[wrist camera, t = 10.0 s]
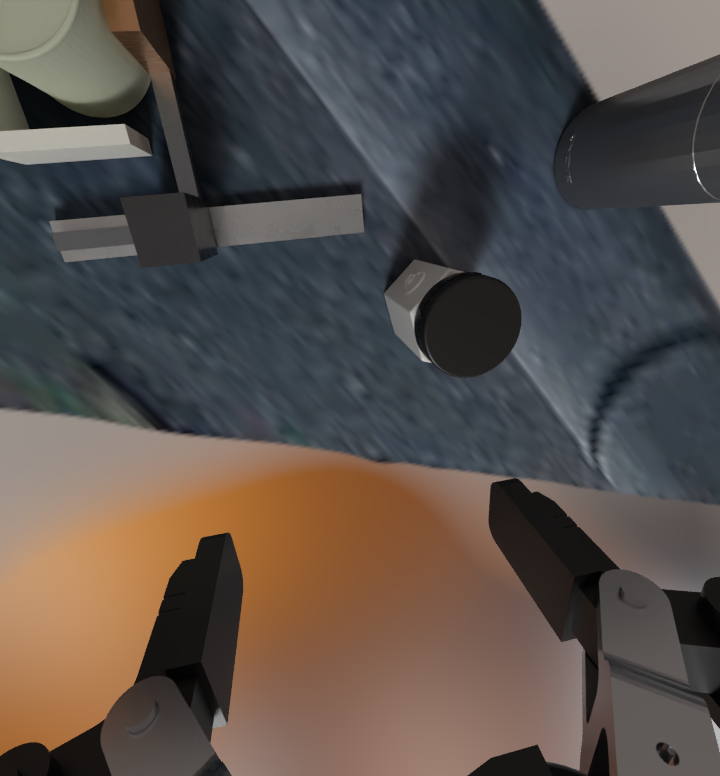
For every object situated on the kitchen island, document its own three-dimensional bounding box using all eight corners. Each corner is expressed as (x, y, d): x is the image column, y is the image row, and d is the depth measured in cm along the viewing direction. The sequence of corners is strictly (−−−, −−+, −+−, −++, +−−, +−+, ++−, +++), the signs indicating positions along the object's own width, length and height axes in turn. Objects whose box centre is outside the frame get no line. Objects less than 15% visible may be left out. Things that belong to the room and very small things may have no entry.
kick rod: (159, -9, 27) (113, -94, 20) (218, 253, 34) (200, 261, 27) (-28, -5, 26) (-151, -96, 18) (75, 268, 33) (15, 280, 26)
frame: (87, -92, 26) (44, -160, 21) (152, 155, 31) (130, 144, 27) (-74, -93, 24) (-155, -166, 20) (25, 164, 30) (-21, 153, 26)
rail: (359, 194, 35) (361, 194, 34) (362, 232, 37) (364, 232, 36) (55, 221, 32) (49, 221, 31) (70, 261, 33) (64, 262, 32)
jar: (427, 239, 38) (484, 246, 27) (477, 294, 41) (545, 319, 30) (367, 308, 40) (397, 339, 29) (419, 355, 43) (464, 400, 32)
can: (25, 105, 29) (-131, 33, 18) (-2, -59, 26) (-214, -269, 15) (157, 128, 31) (88, 76, 20) (148, -21, 28) (59, -182, 17)
